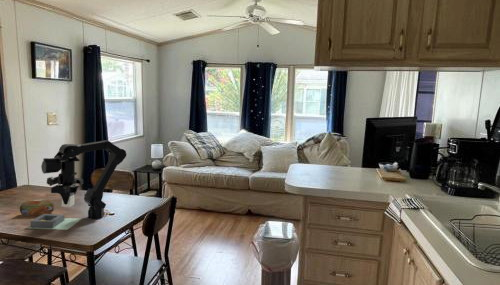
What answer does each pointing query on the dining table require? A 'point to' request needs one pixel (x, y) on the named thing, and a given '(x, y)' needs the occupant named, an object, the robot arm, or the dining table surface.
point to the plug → (69, 201)
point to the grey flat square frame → (47, 221)
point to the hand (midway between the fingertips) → (68, 202)
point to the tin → (37, 207)
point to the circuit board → (63, 224)
